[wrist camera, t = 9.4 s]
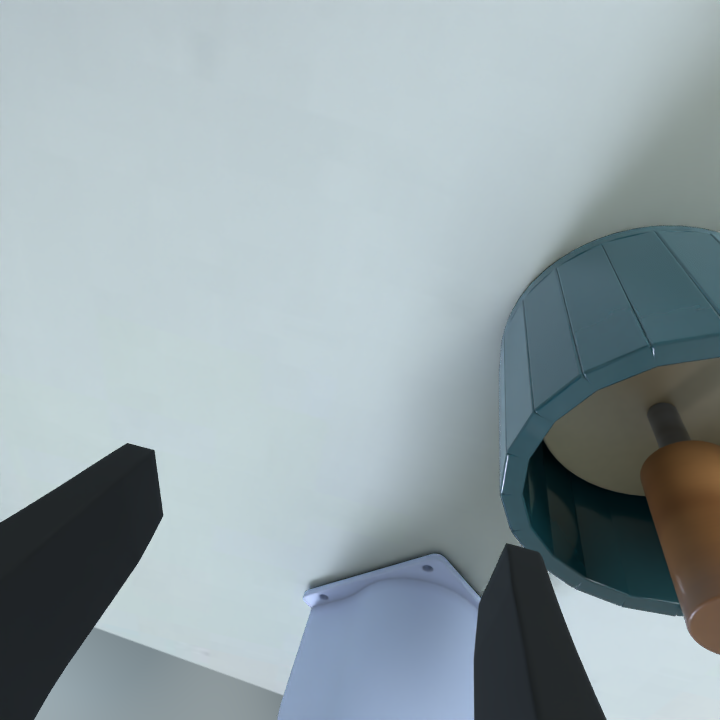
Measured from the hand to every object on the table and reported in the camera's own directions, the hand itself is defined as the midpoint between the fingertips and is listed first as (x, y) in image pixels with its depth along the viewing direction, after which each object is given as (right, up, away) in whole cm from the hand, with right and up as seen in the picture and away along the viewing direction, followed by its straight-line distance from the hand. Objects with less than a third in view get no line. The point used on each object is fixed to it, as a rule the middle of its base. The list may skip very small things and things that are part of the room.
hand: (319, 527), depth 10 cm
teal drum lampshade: (+10, +4, +8) cm, 13 cm away
